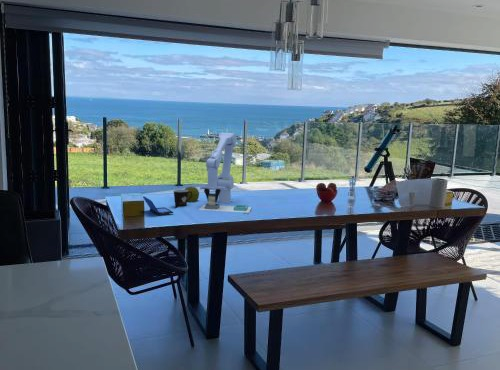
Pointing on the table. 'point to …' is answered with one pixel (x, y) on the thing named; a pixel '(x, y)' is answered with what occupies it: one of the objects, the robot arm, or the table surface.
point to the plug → (211, 199)
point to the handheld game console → (155, 210)
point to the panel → (227, 208)
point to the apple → (194, 194)
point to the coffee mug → (181, 197)
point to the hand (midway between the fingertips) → (212, 201)
